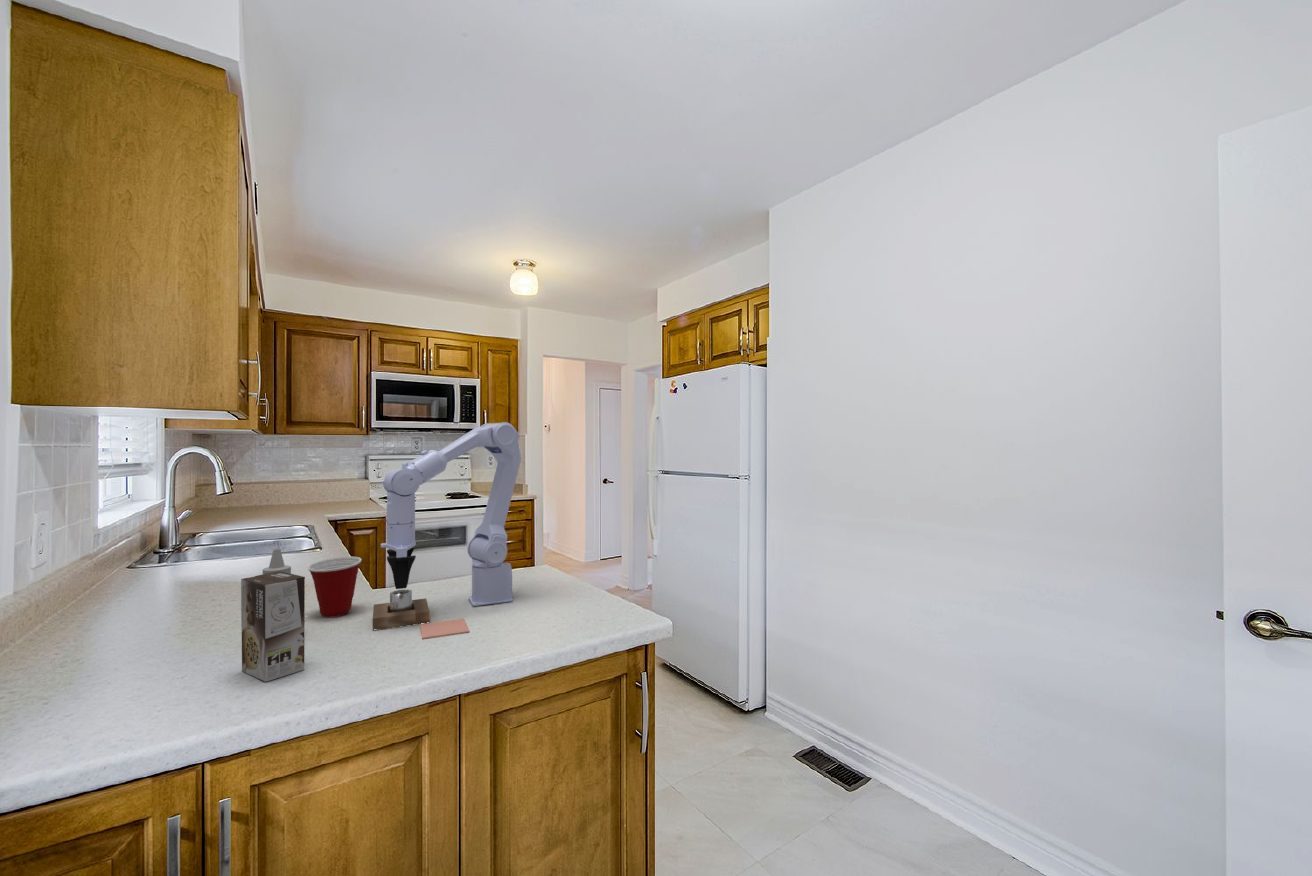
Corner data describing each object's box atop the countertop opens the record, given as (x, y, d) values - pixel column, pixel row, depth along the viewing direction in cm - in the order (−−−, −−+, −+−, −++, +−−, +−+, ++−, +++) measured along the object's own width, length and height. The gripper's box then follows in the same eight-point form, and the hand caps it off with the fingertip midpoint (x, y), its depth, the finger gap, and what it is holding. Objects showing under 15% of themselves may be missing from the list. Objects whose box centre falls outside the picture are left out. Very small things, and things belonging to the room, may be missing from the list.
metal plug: (411, 615, 125) (411, 588, 125) (412, 620, 121) (412, 592, 121) (389, 618, 123) (389, 590, 123) (390, 623, 119) (390, 595, 119)
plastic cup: (295, 619, 123) (295, 565, 123) (336, 605, 133) (336, 555, 133) (333, 623, 119) (333, 568, 119) (372, 609, 130) (372, 557, 130)
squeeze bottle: (276, 649, 105) (276, 554, 105) (240, 646, 106) (241, 552, 107) (310, 634, 113) (310, 546, 113) (277, 631, 114) (277, 545, 114)
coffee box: (306, 669, 96) (306, 576, 96) (264, 683, 90) (264, 584, 90) (281, 658, 100) (281, 569, 100) (239, 671, 95) (239, 577, 95)
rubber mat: (464, 619, 122) (464, 618, 122) (469, 632, 114) (469, 630, 114) (419, 625, 118) (419, 624, 118) (422, 639, 110) (422, 637, 110)
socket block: (426, 609, 130) (426, 598, 130) (429, 622, 120) (429, 611, 120) (373, 615, 125) (373, 604, 125) (372, 630, 115) (372, 618, 115)
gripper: (381, 519, 127) (380, 578, 127) (380, 528, 114) (380, 594, 114) (414, 517, 130) (414, 575, 130) (417, 526, 117) (417, 590, 117)
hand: (400, 584), depth 122 cm, fingers open, 7 cm apart
